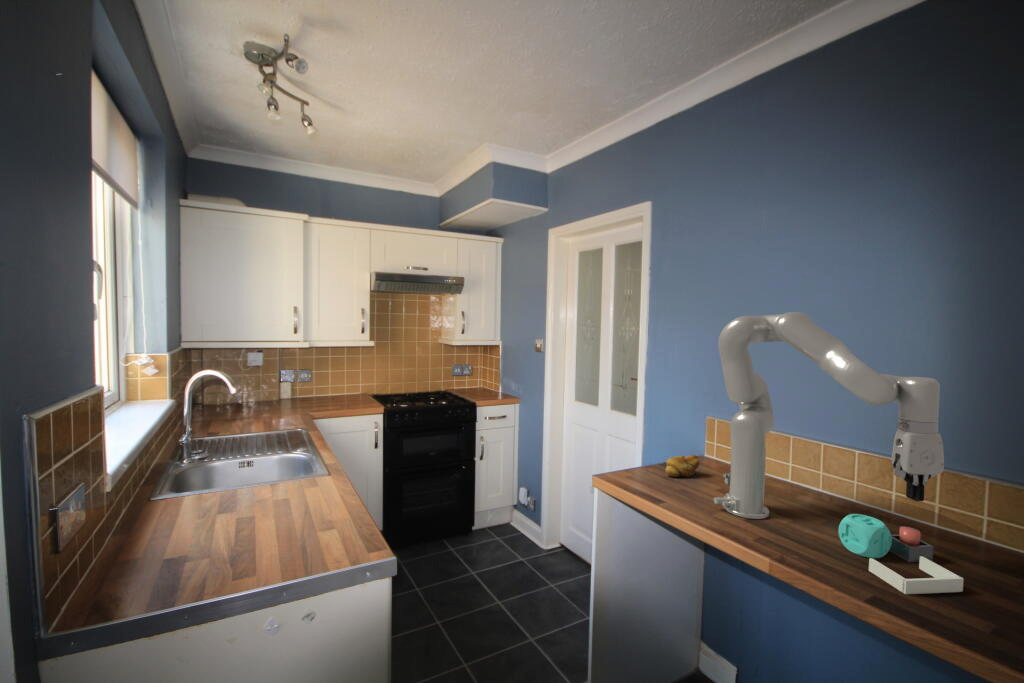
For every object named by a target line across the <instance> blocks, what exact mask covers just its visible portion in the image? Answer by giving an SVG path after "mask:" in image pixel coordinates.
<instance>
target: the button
mask: <svg viewBox="0 0 1024 683" xmlns="http://www.w3.org/2000/svg"><path fill="white" fill-rule="evenodd" d="M898 534H899V540H900V541H902V542H903V543H905V544H907V545H909V546H918V545H920V540H921V531H920V530H918V529H916V528H914V527H909V526H900V527H899V533H898Z"/></svg>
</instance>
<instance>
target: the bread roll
mask: <svg viewBox="0 0 1024 683" xmlns="http://www.w3.org/2000/svg"><path fill="white" fill-rule="evenodd" d="M665 462H666V463H665V464H666V466H665V473H666V475H667V476H669V477H673V478H678V477H684V478H685V477H686V478H689V477H692V476H694V475H695V474H696V473H695V472H696V470H697V469H698V468H699V466H700V459H699V456H698V455H695V454H694V455H693V454H692V455H691V454H690V455H686V456H684V455H676V456H674V457H673V456H672V457H669V458H668V459H666V461H665Z"/></svg>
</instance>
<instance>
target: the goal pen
mask: <svg viewBox="0 0 1024 683" xmlns="http://www.w3.org/2000/svg"><path fill="white" fill-rule="evenodd" d="M868 561H869V562H868V571H869V573H872V574H874V576H876V577H878V578H879V579H881V580H882V581H884V582H885V583H887V584H888V585H890V586H892V587H893V588H895V589H897V590H898V591H899V592H901V593H903V594H904V595H919V594H941V593H942V594H943V593H961V592H962V593H963V591H964V578H963V577H962V576H961V575H957V574H956V573H954V572H952V571H950V569H949V570H948V569H947V568H945V567H943V566H941V565H940V564H937V563H936V562H934V561H930V560H928V559H926V558H925V557H923V556H920V561H919V562H918V569H919V570H921V571H923V572H924V573H926V574H928V575H929V576H932V577H925V578H921V577H920V578H905V577H903V576H902V575H901V574H898V573H897V572H896V571H894V570H892V569H890V568H889V567H887V566H885V565H884V564H882V563H881V562H879V561H877V560H876V559H875V558H869V559H868Z"/></svg>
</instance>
